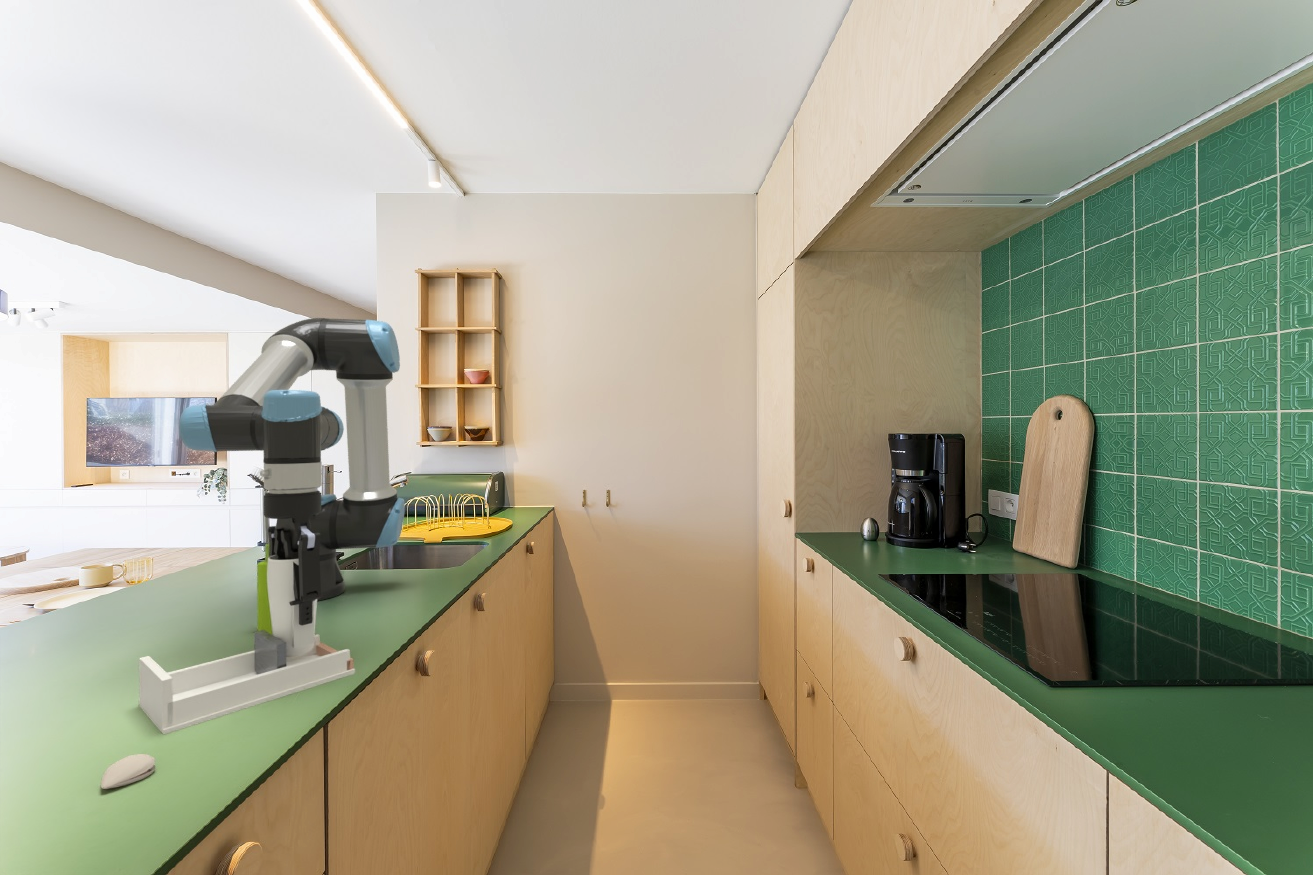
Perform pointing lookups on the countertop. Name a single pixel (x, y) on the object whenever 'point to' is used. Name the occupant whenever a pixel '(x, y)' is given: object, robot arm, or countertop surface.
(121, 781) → the clam shell
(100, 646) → the countertop surface
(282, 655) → the pusher plate
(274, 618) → the white tumbler cup
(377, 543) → the robot arm
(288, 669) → the pusher lane
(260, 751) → the countertop surface
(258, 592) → the soap dispenser
